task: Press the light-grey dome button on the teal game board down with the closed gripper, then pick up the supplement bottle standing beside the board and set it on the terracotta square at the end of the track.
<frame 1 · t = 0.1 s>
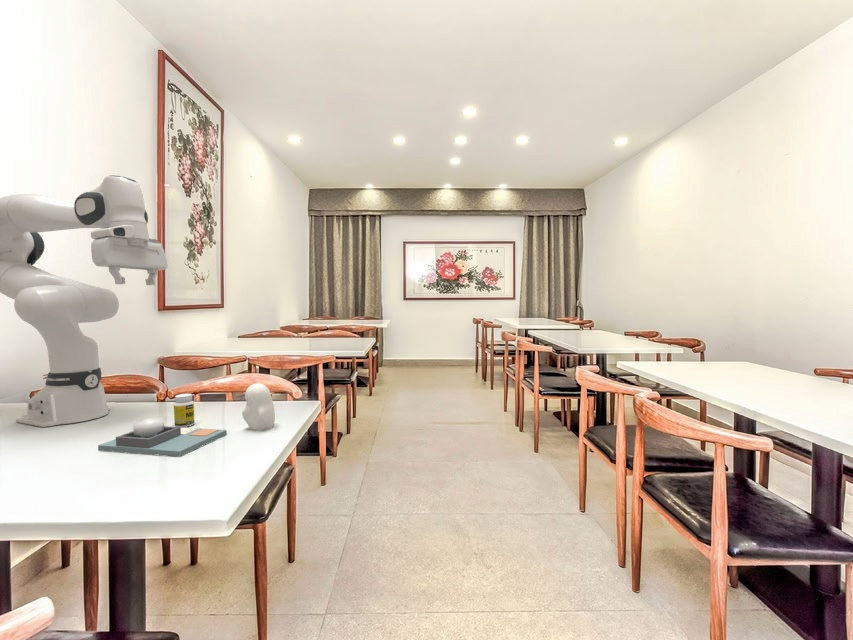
hand: (136, 284, 116), 39 cm above the table, tool pointing down, fingers open, 8 cm apart
supplement bottle: (184, 426, 114), on the table
board: (165, 442, 100), on the table
dome: (149, 428, 98), point 4 cm above the table, slide at 0.0 cm
figurine: (260, 428, 111), on the table
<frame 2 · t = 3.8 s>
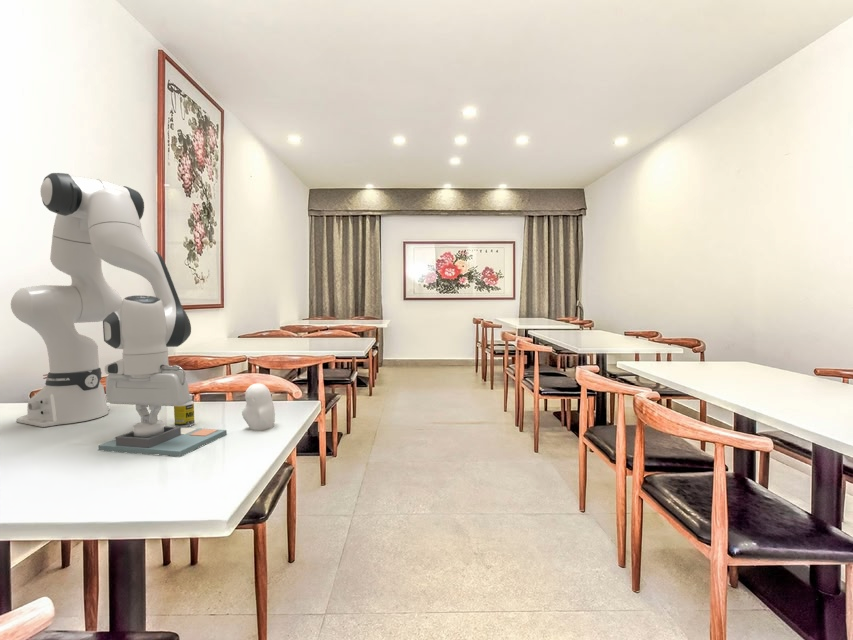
hand: (149, 423, 98), 5 cm above the table, tool pointing down, fingers closed, pressing on dome
dome: (149, 431, 98), point 3 cm above the table, slide at -0.6 cm, touching board, gripper
everything else where it was.
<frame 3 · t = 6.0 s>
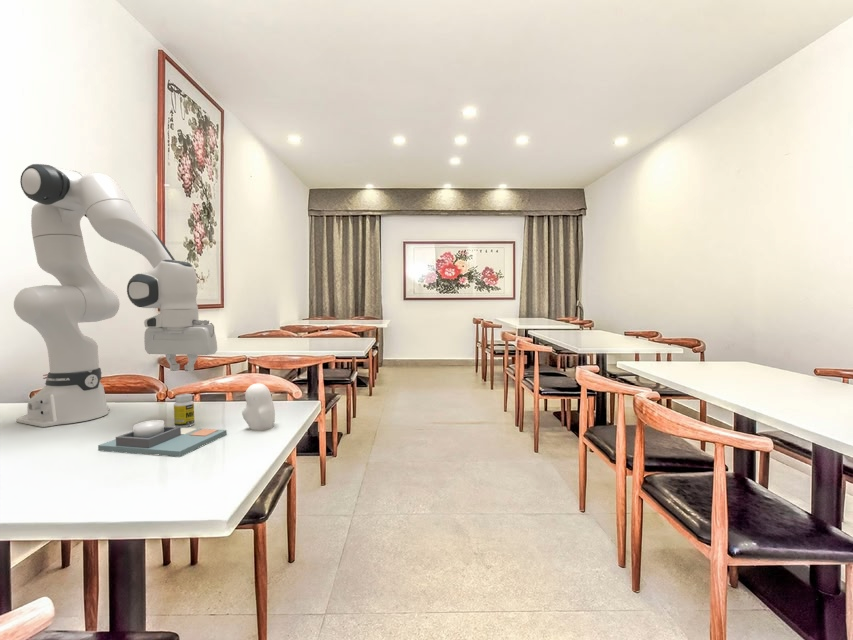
hand: (182, 370, 113), 15 cm above the table, tool pointing down, fingers open, 3 cm apart
dome: (149, 431, 98), point 3 cm above the table, slide at -0.6 cm, touching board
everything else where it was.
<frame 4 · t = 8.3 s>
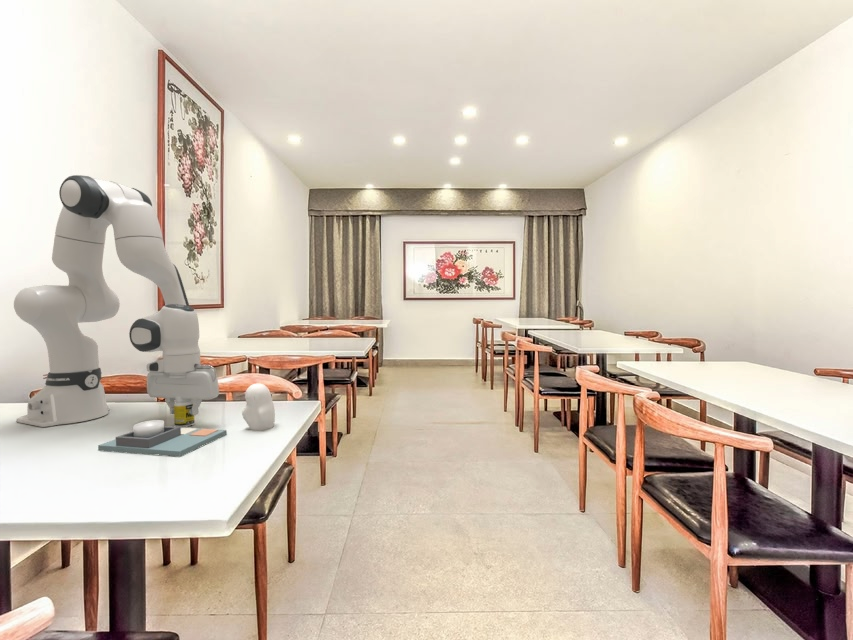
hand: (184, 414, 113), 3 cm above the table, tool pointing down, fingers closed on supplement bottle, 5 cm apart
supplement bottle: (184, 426, 114), on the table, touching gripper
everything else where it was.
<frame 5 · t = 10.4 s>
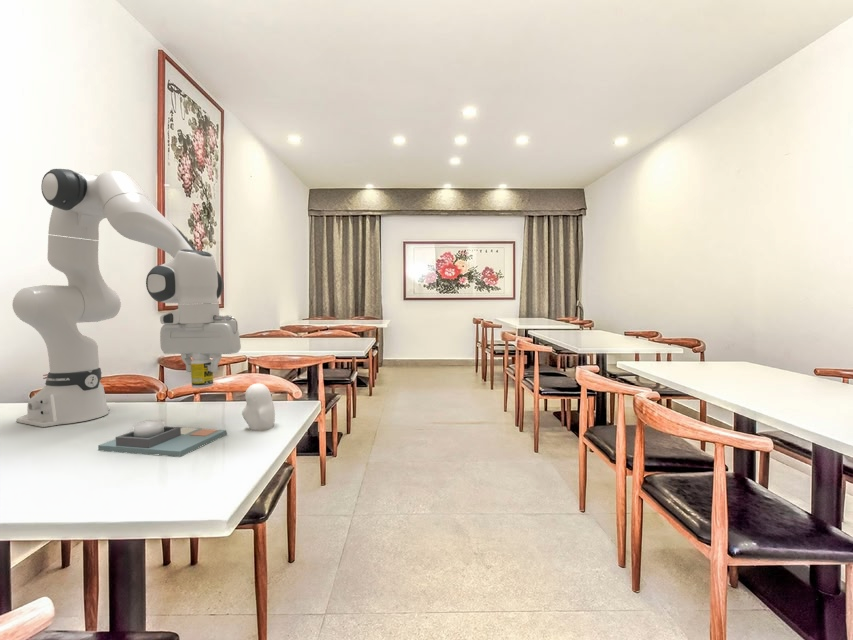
hand: (202, 371, 102), 16 cm above the table, tool pointing down, fingers closed on supplement bottle, 5 cm apart
supplement bottle: (202, 386, 102), point 13 cm above the table, touching gripper
everything else where it was.
when the fingers open (6 cm above the table, at t = 12.8 s): supplement bottle stays where it is, resting on board.
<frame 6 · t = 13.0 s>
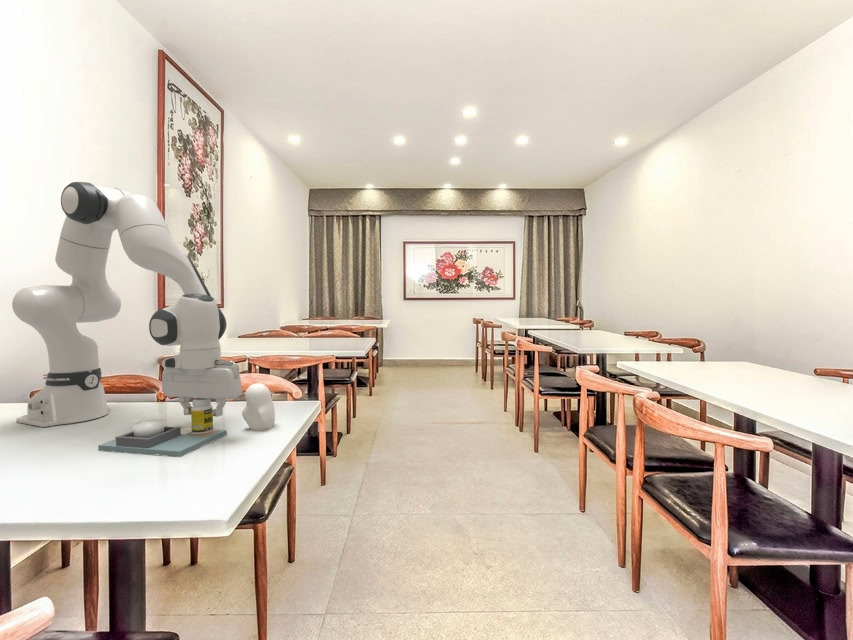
hand: (203, 415, 103), 6 cm above the table, tool pointing down, fingers open, 7 cm apart
supplement bottle: (202, 432, 103), point 1 cm above the table, touching board
everything else where it was.
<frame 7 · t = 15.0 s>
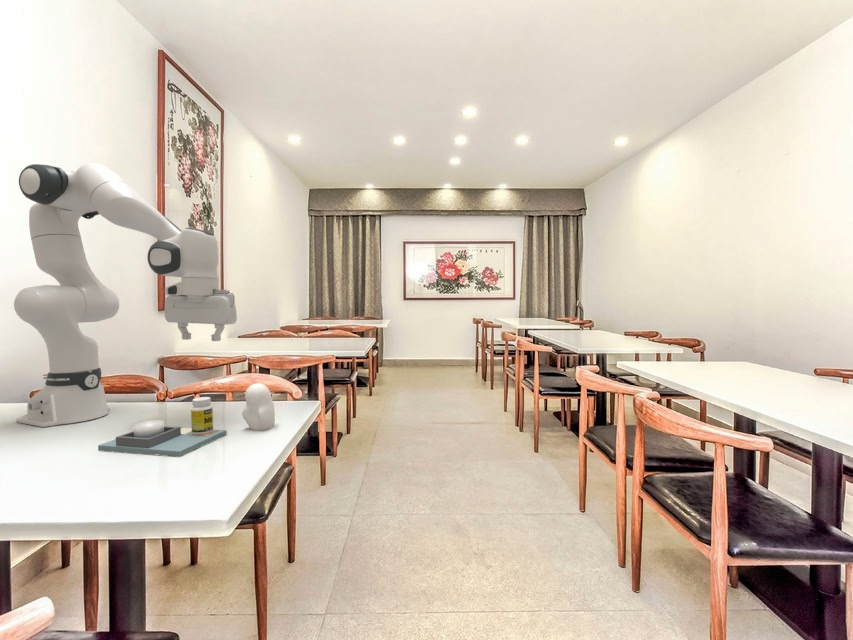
hand: (201, 340, 112), 23 cm above the table, tool pointing down, fingers open, 8 cm apart
nothing on the table moved.
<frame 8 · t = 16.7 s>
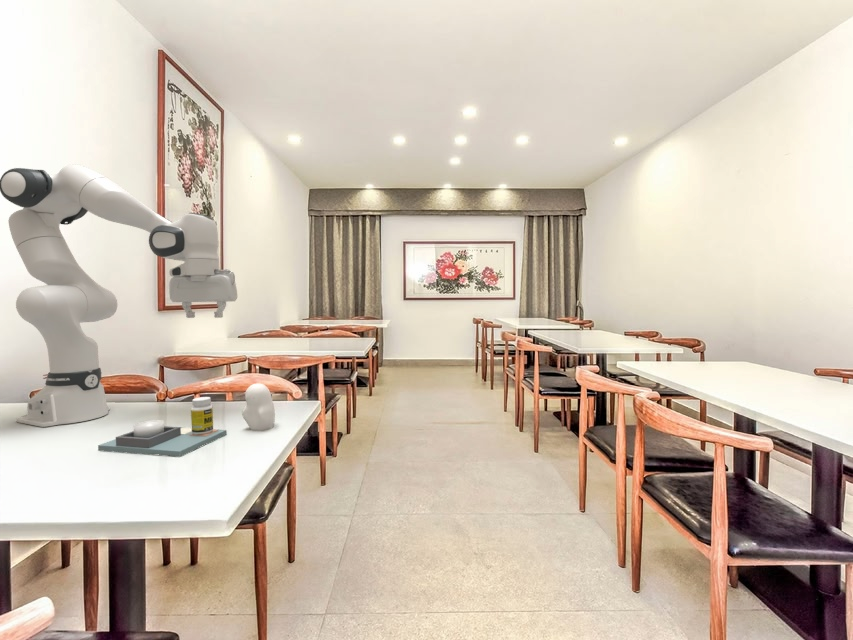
hand: (204, 317, 121), 29 cm above the table, tool pointing down, fingers open, 8 cm apart
nothing on the table moved.
at the end: dome slide at -0.6 cm; supplement bottle 0.4 cm from the target spot, point 1.2 cm above the table; supplement bottle tilted 0° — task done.
